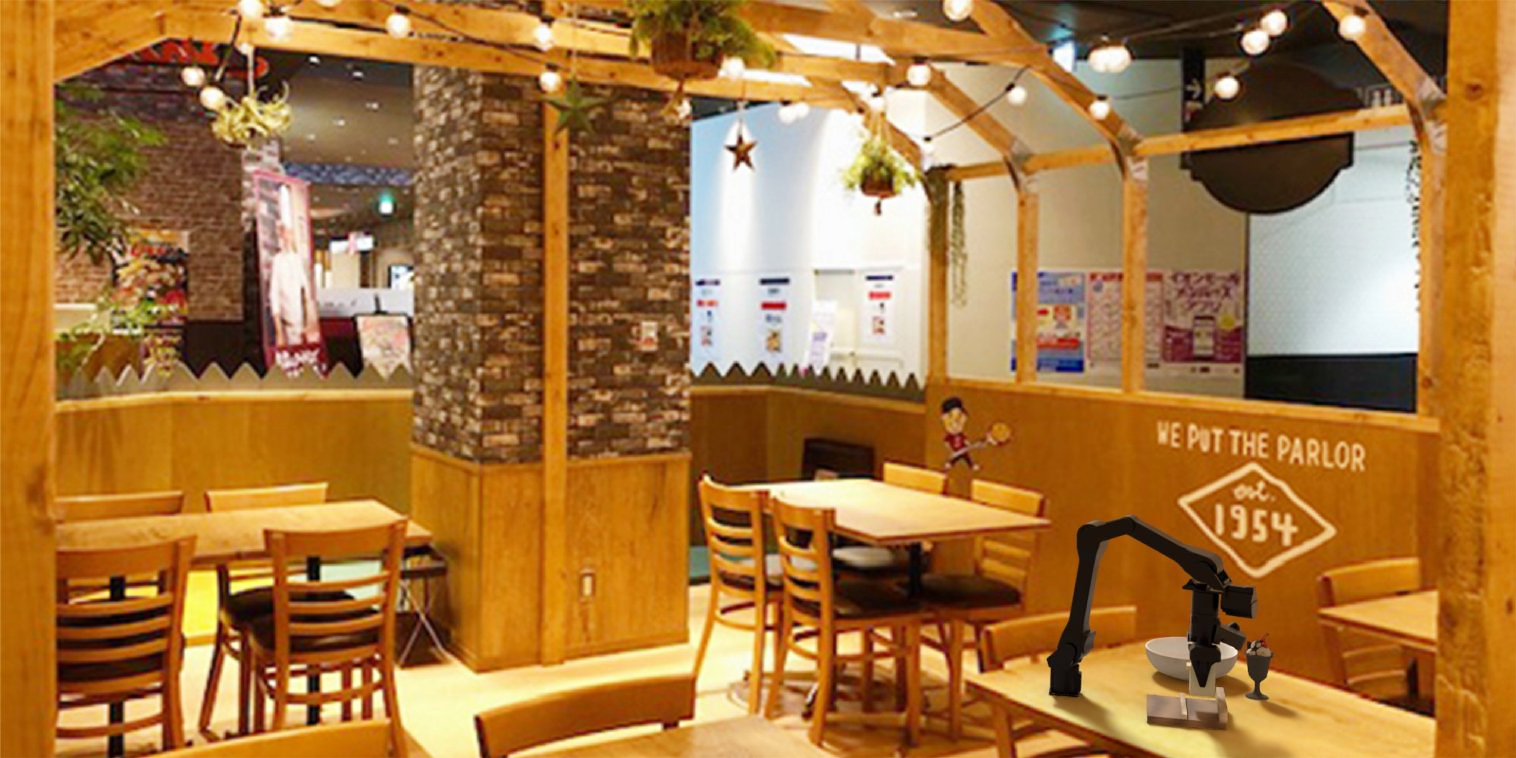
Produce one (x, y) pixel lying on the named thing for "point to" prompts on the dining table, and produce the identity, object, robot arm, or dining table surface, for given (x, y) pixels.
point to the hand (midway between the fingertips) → (1201, 683)
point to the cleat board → (1188, 711)
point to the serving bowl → (1184, 657)
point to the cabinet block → (1194, 685)
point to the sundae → (1258, 665)
